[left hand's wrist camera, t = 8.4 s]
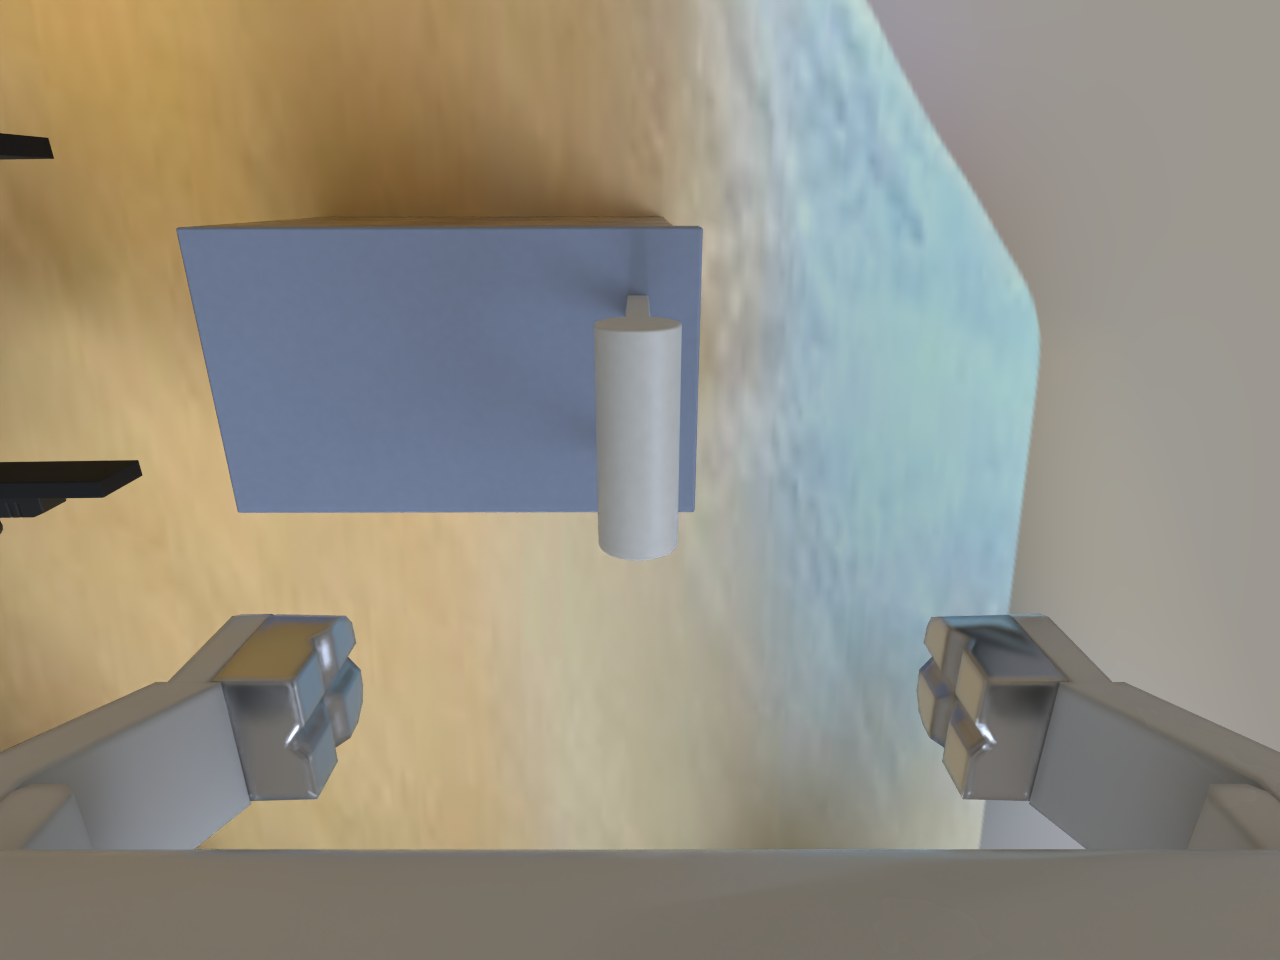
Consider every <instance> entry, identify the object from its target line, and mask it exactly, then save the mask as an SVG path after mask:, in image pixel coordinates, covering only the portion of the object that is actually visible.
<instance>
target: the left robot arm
mask: <svg viewBox="0 0 1280 960" xmlns="http://www.w3.org/2000/svg"><path fill="white" fill-rule="evenodd" d="M355 644H356V640H355V635H354V630H353V625H352V622H351V621H350V620H349V619H348V618H347V617H346V616H330V615H279V614H277V615H273V614H242V615H237V616H232V617H231V618H230V619H229V620H228V621H227V622H226V623H225V624H224V625H223V626H222V627H221V628H220V629H219V630H218V631H217V632H216V633H215V634H214V635H213V636H212V637H211V638H210V639H209V640H208V641H207V642H206V643H205V645H204V646H203V647H202V648H201V649H200V650H199V651H198V652H197V653H196V654H195V655H194V656H193V657H192V658H191V659H190V660H189V661H188V662H187V663H186V664H185V665H184V666H183V667H182V668H181V669H180V670H179V671H178V672H177V673H176V674H175V675H174V676H173V677H172V678H171V679H170V680H169V681H168V682H155V683H153V684H151V685H148V686H146V687H144V688H142V689H139V690H137V691H135V692H133V693H131V694H128V695H126V696H124V697H122V698H119V699H117V700H115V701H113V702H111V703H108V704H106V705H104V706H102V707H99V708H97V709H95V710H93V711H91V712H88V713H86V714H84V715H82V716H79V717H77V718H75V719H73V720H71V721H68V722H66V723H64V724H62V725H60V726H57V727H55V728H53V729H51V730H48V731H46V732H44V733H42V734H40V735H37V736H35V737H33V738H31V739H28V740H26V741H24V742H22V743H20V744H17V745H15V746H13V747H11V748H8V749H6V750H4V751H2V752H0V960H1280V752H1278V751H1276V750H1273V749H1271V748H1269V747H1267V746H1264V745H1262V744H1260V743H1258V742H1256V741H1253V740H1251V739H1249V738H1247V737H1245V736H1242V735H1240V734H1238V733H1236V732H1233V731H1231V730H1229V729H1227V728H1225V727H1222V726H1220V725H1218V724H1216V723H1214V722H1211V721H1209V720H1207V719H1205V718H1202V717H1200V716H1198V715H1196V714H1194V713H1191V712H1189V711H1187V710H1185V709H1183V708H1180V707H1178V706H1176V705H1174V704H1171V703H1169V702H1167V701H1165V700H1163V699H1160V698H1158V697H1156V696H1154V695H1152V694H1149V693H1147V692H1145V691H1143V690H1141V689H1138V688H1136V687H1134V686H1132V685H1129V684H1127V683H1125V682H1112V681H1111V680H1110V679H1109V678H1108V677H1107V676H1106V675H1105V674H1104V673H1103V672H1102V671H1101V670H1100V669H1099V668H1098V667H1097V666H1096V665H1095V664H1094V663H1093V662H1092V661H1091V660H1090V659H1089V658H1088V657H1087V656H1086V655H1085V654H1084V653H1083V652H1082V650H1081V649H1080V648H1079V647H1078V646H1077V645H1076V644H1075V643H1074V642H1073V641H1072V640H1071V639H1070V638H1069V637H1068V636H1067V635H1066V634H1065V633H1064V632H1063V631H1062V630H1061V629H1060V628H1059V627H1058V626H1057V625H1056V624H1055V623H1054V622H1053V621H1052V620H1051V619H1050V618H1049V617H1047V616H1044V615H1042V614H1018V615H987V616H947V617H931V619H930V621H929V623H928V626H927V628H926V634H925V639H924V644H925V646H926V647H927V649H928V650H929V652H930V654H931V655H932V658H931V659H930V660H929V661H928V662H927V663H926V664H925V665H924V666H923V667H922V668H921V669H920V670H919V677H918V685H917V699H918V710H919V713H920V717H921V720H922V723H923V726H924V728H925V730H926V732H927V734H928V736H929V738H931V739H932V740H934V741H935V742H937V743H938V744H940V745H941V746H943V747H944V748H945V749H944V755H943V760H942V762H943V764H944V766H945V767H946V769H947V771H948V773H949V775H950V777H951V778H952V780H953V782H954V784H955V786H956V788H957V789H958V791H959V793H960V795H961V797H962V799H978V800H1015V801H1030V802H1029V804H1030V805H1031V806H1032V807H1034V808H1035V809H1036V810H1038V811H1039V812H1040V813H1041V814H1043V815H1044V816H1045V817H1046V818H1048V819H1049V820H1050V821H1052V822H1053V823H1054V824H1055V825H1056V826H1058V827H1059V828H1060V829H1061V830H1063V831H1064V832H1065V833H1067V834H1068V835H1069V836H1070V837H1072V838H1073V839H1074V840H1075V841H1077V842H1078V843H1079V844H1080V845H1082V846H1083V847H1084V848H1085V849H997V850H996V849H989V850H988V849H888V850H480V849H195V848H196V847H197V846H199V845H200V844H201V843H202V842H204V841H205V840H206V839H207V838H209V837H210V836H211V835H212V834H214V833H215V832H216V831H217V830H219V829H220V828H221V827H223V826H224V825H225V824H226V823H228V822H229V821H230V820H231V819H233V818H234V817H235V816H236V815H238V814H239V813H240V812H242V811H243V810H244V809H245V808H247V807H248V806H249V805H250V804H251V803H250V801H265V800H300V799H318V797H319V795H320V793H321V791H322V790H323V788H324V786H325V784H326V782H327V780H328V778H329V777H330V775H331V773H332V771H333V769H334V767H335V766H336V764H337V762H338V760H337V755H336V749H335V748H336V747H337V746H339V745H340V744H342V743H343V742H345V741H346V740H348V739H349V738H350V737H351V736H352V734H353V732H354V730H355V728H356V726H357V724H358V721H359V716H360V712H361V707H362V703H363V682H362V676H361V670H360V669H359V668H358V667H357V666H356V665H355V664H354V663H353V662H352V661H351V660H350V659H349V658H348V655H349V654H350V652H351V650H352V649H353V647H354V646H355Z"/></svg>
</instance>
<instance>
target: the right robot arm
mask: <svg viewBox="0 0 1280 960" xmlns="http://www.w3.org/2000/svg"><path fill="white" fill-rule="evenodd" d="M0 159H54V157H53V153H52V150H51V146H50V143H49V139H48V138H43V137H33V136H22V135H12V134H2V133H0ZM140 476H142V472H141V469H140V465H139V461H138V460H127V461H55V462H0V518H11V517H35V516H38V515H40V514H42V513H44V512H46V511H48V510H50V509H52V508H54V507H56V506H57V505H59V504H61V503H63V502H65V501H66V498H103V497H105V496H107V495H109V494H110V493H112V492H114V491H116V490H117V489H119V488H121V487H123V486H125V485H126V484H128V483H130V482H132V481H133V480H135V479H137V478H139V477H140ZM2 530H3V525H2V523H1V521H0V534H1V532H2Z"/></svg>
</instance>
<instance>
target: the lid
mask: <svg viewBox="0 0 1280 960" xmlns="http://www.w3.org/2000/svg"><path fill="white" fill-rule="evenodd" d="M177 235H178V239H179V244H180V249H181V253H182V258H183V262H184V267H185V271H186V276H187V281H188V285H189V290H190V294H191V299H192V304H193V308H194V313H195V317H196V322H197V326H198V331H199V336H200V340H201V345H202V349H203V354H204V358H205V363H206V368H207V372H208V377H209V381H210V386H211V391H212V395H213V400H214V404H215V409H216V413H217V418H218V423H219V427H220V432H221V436H222V441H223V445H224V450H225V455H226V459H227V464H228V468H229V473H230V478H231V482H232V487H233V491H234V496H235V500H236V505H237V510H238V512H239V513H343V512H598V532H599V545H600V547H601V549H602V550H603V551H604V552H605V553H607V554H609V555H611V556H613V557H616V558H620V559H625V560H637V561H639V560H651V559H656V558H660V557H663V556H665V555H667V554H669V553H671V552H672V551H673V550H674V549H675V548H676V546H677V542H678V512H694V510H695V478H696V443H697V409H698V374H699V340H700V305H701V270H702V236H703V229H702V228H701V227H699V226H194V227H180V228H177Z"/></svg>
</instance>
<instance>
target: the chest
mask: <svg viewBox="0 0 1280 960" xmlns="http://www.w3.org/2000/svg"><path fill="white" fill-rule="evenodd" d="M208 226H673V225H671V224H670V223H669V222H668V221H667V220H666V219H665V218H664V217H319V218H306V219H292V220H278V221H264V222H250V223H236V224H222V225H208Z"/></svg>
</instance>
